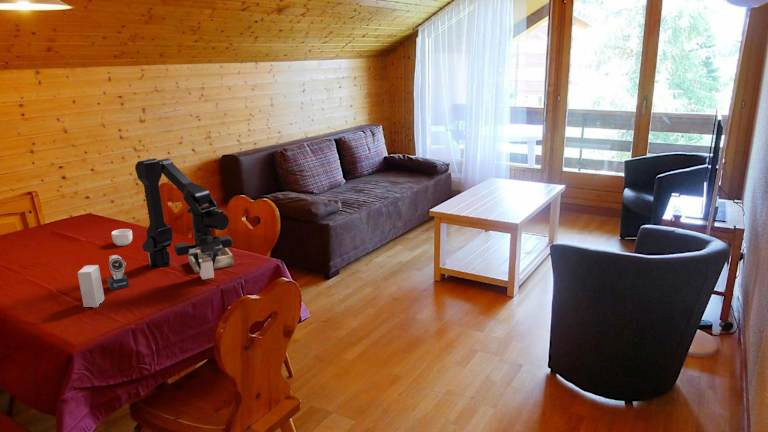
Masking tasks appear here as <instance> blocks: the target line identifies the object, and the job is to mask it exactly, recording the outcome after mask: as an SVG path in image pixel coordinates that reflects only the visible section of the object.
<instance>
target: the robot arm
mask: <svg viewBox="0 0 768 432" xmlns="http://www.w3.org/2000/svg"><path fill="white" fill-rule="evenodd" d="M134 168H135V172H136V173H135V174H136V176H137V179H138V180H139V181H140V182H141V183H142V185H143V188H144V196H145V201H146V209H147V214H148V221H149V225H148V227H147V229H146V240H145V241H144V242H143V244H142V245H141V246H142V247H141V248H142V250H143V251H144V252H146V253H148V260H149V262H148V264H149V266H150V269H156V268H162V267H167V266H168V267H169V266H170V263H171V258H170V257H171V256H170V250H168V248H170V247H172V241H173V237H174V235H173V231H172V230H173V228H172V226H171V225H168V224H167V223H166V222H165V217H164V210H163V205H162V204H163V203H162V197H161V196H162V195H161V190H160V181H161V179H162V177H163V175H164V177H165V178H166V179H167V180H168V181H169V182H171V184H172V185H174V187H176V189H178V190H179V192H180V193H181V195H182V198H183V201H184V202H185V203H186V205H187V206H188V207H189V208H188V210H186V213H188V214H191V220H192V229H193V231H192V232H193V238H194V243H192V244H188V243H187V242H186V241H184V242H179V243H175V244H174V247H173V248H174V253H175V254H176V256H177V257H180V256H186V255H187V256H188V255H189V256H193V258H194V260H195V262H196V264H197V266H198V268H199V270H201V267H200V262H199V258H198V253H197V252H196V251H197V250H200V252H201V253H206V252H211V260H212V261H213V267H214V263H215V260H216V256H217V254H218V253H219V251H222V248H221V247H223V248H227V249H229V248H232V247H233V246H234V243H233V240H232V238H231V237H230V236H228V235H223V236H221V235H216V236H215V235H214V236H213V233H212V230H218V231H225V230H226V229H227V228H228V226H229V223H230V219H229V217H228V215H227V214H226V213H224V210H223V209H219V206H218V205H217V202H216V201H215V200H214V198H213V196H212V195H211V193H210V191H209V190H208V189H206V188H205V187H204V186H202V185H200V184H197V183H194V182H193V180H191V179H190V178H188V177H187V176H186V174H184V172H182V170H180V169H179V167H178V166H177V165H175V164H174V162H173V161H172V159H170V158H163V159H157V158H154V157H153V158H149V159H144V160H139V161H137V162H136V164H135V166H134ZM211 229H212V230H211Z"/></svg>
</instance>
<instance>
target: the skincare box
mask: <svg viewBox="0 0 768 432" xmlns="http://www.w3.org/2000/svg"><path fill="white" fill-rule="evenodd" d="M77 277H78V278H77V279H78V282H79V283H78V284H79V288H80V294H81V299H82V304H83V305H82V306H83V308H84V307H93V308H99V306H100V305H101V304H102V303H103V301H104V300H105V294H104V288H103V283H102V277H101V271H100V266H99V264H93V265H91V264H89V265H84V266H83V267H82V268H81V269H80V270H79V271H78V272H77ZM100 303H101V304H100ZM99 304H100V305H99Z"/></svg>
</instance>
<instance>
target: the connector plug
mask: <svg viewBox="0 0 768 432" xmlns="http://www.w3.org/2000/svg"><path fill="white" fill-rule="evenodd" d="M199 262H200V267H201V270H200V272H199V277H201V280H208V279H214V278H215V271H214V269H213V261H212V260H211V259H210V258H208V256H202V259H201V260H199Z"/></svg>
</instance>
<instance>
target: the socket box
mask: <svg viewBox="0 0 768 432" xmlns="http://www.w3.org/2000/svg"><path fill="white" fill-rule="evenodd" d="M221 248H222V251H219V253H218V254H217V256H216V260H215V263H214V267H213V270H217V269H222V268H227V267H228V268H229V267H233V266H235V262H234V254H233V253H232V252H231V251H230V250H229V248H223V247H222V246H221ZM196 252H197V253H198V258H199V260H201V259H202V256H208V258H210V259H211V252H206V253H201V252H200V249H197V250H196ZM187 258H188V260H187V261H188V263H189V265H190V268H191V269H192V270H193V272H194V273H200V270H199V268H198V266H197V264H196V262H195V260H194V258H193V256H189V255H188V254H187Z"/></svg>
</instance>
